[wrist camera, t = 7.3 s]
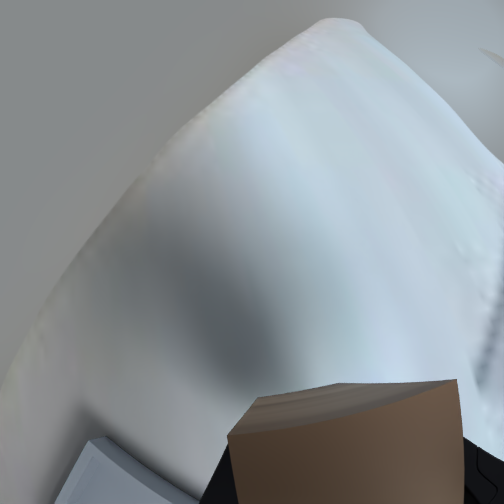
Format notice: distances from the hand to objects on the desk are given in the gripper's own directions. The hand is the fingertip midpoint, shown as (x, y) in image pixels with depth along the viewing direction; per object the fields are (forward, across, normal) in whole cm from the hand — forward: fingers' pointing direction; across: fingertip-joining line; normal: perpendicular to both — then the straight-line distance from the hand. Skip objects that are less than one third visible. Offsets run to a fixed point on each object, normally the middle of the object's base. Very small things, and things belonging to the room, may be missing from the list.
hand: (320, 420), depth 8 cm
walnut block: (+4, 0, +6) cm, 7 cm away
